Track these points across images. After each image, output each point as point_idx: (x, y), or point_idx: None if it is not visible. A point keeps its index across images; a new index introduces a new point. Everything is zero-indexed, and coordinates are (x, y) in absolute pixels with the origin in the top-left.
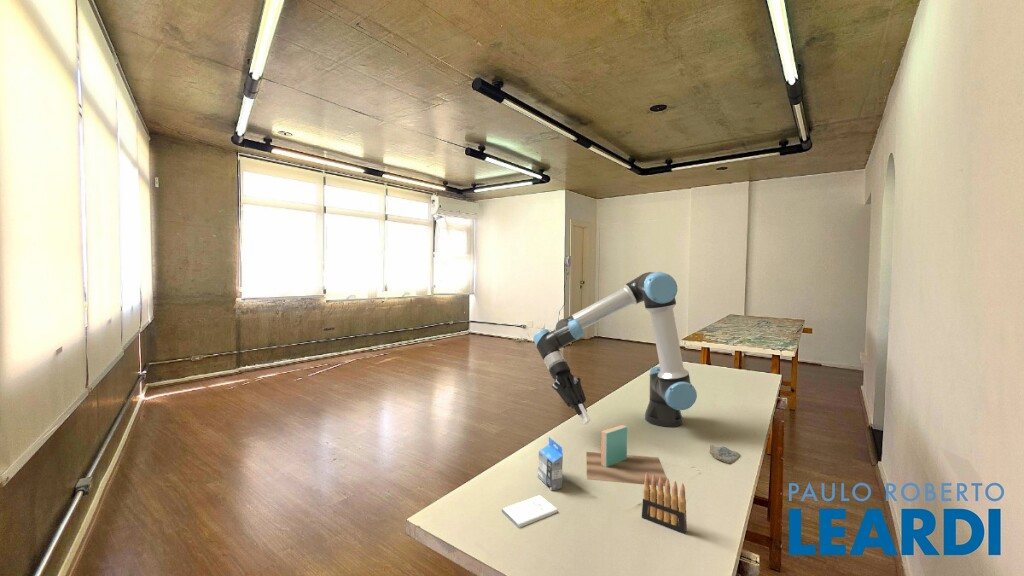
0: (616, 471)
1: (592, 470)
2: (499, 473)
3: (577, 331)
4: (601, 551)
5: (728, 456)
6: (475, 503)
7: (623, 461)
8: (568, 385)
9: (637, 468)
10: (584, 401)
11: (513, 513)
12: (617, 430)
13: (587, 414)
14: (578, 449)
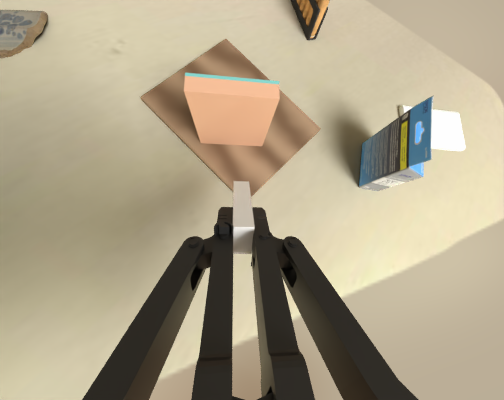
0: None
1: (292, 141)
2: (428, 241)
3: None
4: (393, 38)
5: (13, 17)
6: (484, 187)
7: None
8: (291, 374)
9: None
10: (217, 222)
11: (456, 130)
12: (231, 78)
13: (236, 192)
14: None
